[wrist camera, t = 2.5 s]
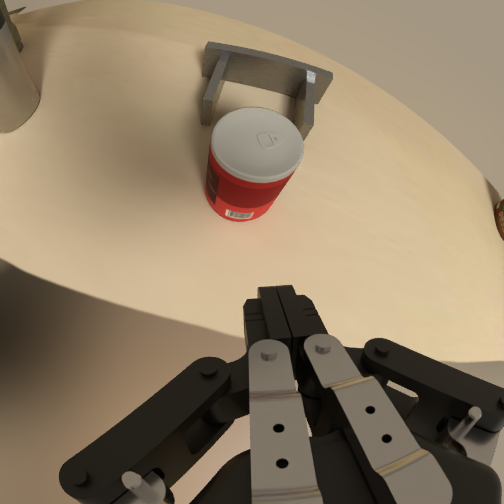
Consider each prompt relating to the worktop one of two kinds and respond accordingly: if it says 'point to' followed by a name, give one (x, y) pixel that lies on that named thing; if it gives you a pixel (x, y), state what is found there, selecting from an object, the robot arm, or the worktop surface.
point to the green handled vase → (11, 26)
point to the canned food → (250, 161)
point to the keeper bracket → (263, 79)
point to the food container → (499, 217)
